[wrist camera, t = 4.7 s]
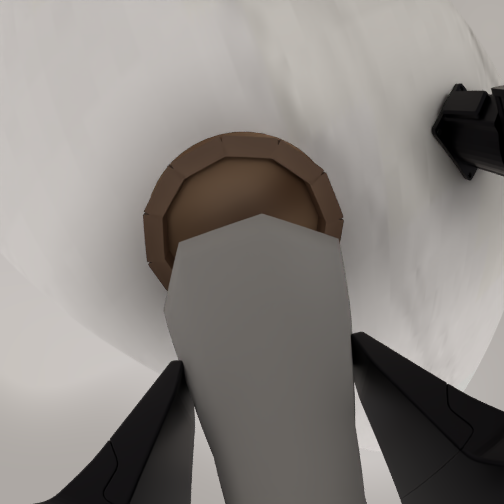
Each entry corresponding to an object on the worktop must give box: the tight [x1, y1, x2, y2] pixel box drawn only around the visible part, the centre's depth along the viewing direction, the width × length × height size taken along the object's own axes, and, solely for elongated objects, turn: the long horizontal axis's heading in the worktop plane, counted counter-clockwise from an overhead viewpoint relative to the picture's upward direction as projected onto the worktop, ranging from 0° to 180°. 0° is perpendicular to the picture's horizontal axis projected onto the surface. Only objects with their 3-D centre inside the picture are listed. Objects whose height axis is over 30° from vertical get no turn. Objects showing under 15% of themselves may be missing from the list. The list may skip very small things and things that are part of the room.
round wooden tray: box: [143, 132, 344, 291], centre depth 18 cm, size 13×13×2 cm
